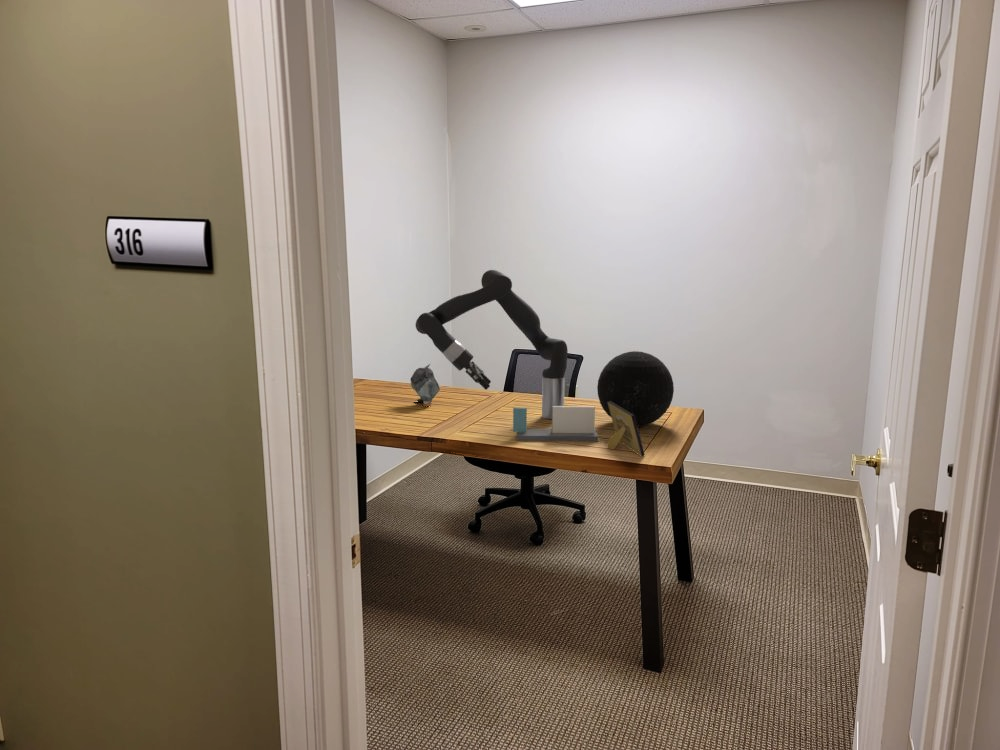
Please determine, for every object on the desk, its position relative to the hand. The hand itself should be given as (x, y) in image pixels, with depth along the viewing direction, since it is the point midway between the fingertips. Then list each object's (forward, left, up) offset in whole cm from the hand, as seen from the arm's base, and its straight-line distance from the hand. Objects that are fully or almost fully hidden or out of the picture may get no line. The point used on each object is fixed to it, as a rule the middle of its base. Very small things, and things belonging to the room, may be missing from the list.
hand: (488, 385), depth 261 cm
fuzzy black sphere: (-20, +58, -20) cm, 64 cm away
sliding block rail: (0, +26, -20) cm, 32 cm away
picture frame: (+13, +48, -20) cm, 53 cm away
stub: (0, +12, -17) cm, 21 cm away
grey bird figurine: (-54, -31, -20) cm, 66 cm away
